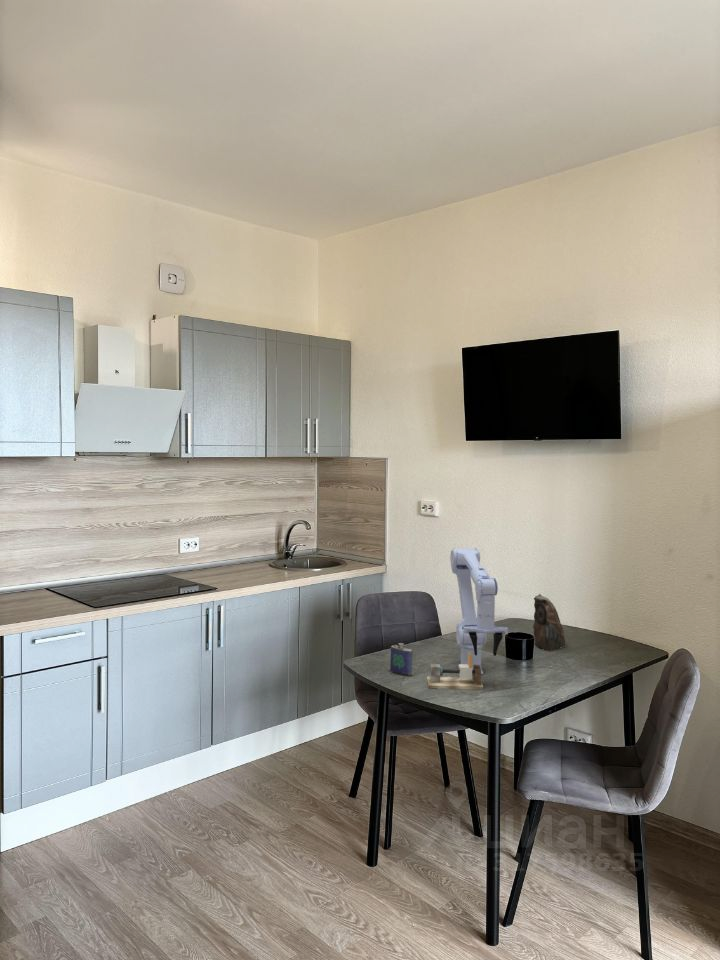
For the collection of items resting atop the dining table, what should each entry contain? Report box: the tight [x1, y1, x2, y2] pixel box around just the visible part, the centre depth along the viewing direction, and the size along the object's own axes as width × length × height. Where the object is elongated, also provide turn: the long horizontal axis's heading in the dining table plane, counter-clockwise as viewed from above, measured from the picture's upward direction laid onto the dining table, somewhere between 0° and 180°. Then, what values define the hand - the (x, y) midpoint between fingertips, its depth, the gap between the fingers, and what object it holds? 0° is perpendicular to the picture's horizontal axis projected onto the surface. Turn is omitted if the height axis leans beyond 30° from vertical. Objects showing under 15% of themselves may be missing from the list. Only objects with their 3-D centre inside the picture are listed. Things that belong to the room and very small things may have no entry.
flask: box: [389, 642, 413, 677], centre depth 257 cm, size 9×3×11 cm, turn 47°
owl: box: [532, 593, 566, 652], centre depth 293 cm, size 13×13×20 cm
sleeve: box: [458, 653, 473, 679], centre depth 245 cm, size 4×4×8 cm
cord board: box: [426, 663, 484, 691], centre depth 245 cm, size 18×9×6 cm, turn 87°
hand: (485, 654), depth 244 cm, fingers open, 6 cm apart
